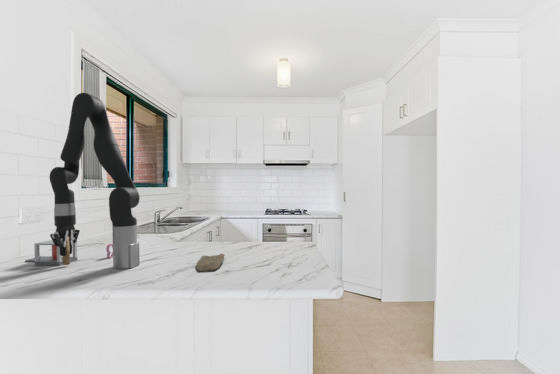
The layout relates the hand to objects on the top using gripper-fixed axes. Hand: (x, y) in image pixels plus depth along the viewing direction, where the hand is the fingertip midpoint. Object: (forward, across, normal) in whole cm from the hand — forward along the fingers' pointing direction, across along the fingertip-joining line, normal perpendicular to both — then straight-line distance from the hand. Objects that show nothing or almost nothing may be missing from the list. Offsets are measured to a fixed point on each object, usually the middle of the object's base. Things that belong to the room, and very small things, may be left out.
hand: (66, 254), depth 136 cm
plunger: (+3, +6, +10) cm, 12 cm away
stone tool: (+6, +8, -60) cm, 61 cm away
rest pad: (+5, +10, +22) cm, 25 cm away
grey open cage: (+5, +6, +10) cm, 13 cm away
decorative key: (+6, +25, -8) cm, 26 cm away
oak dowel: (+4, 0, 0) cm, 4 cm away
